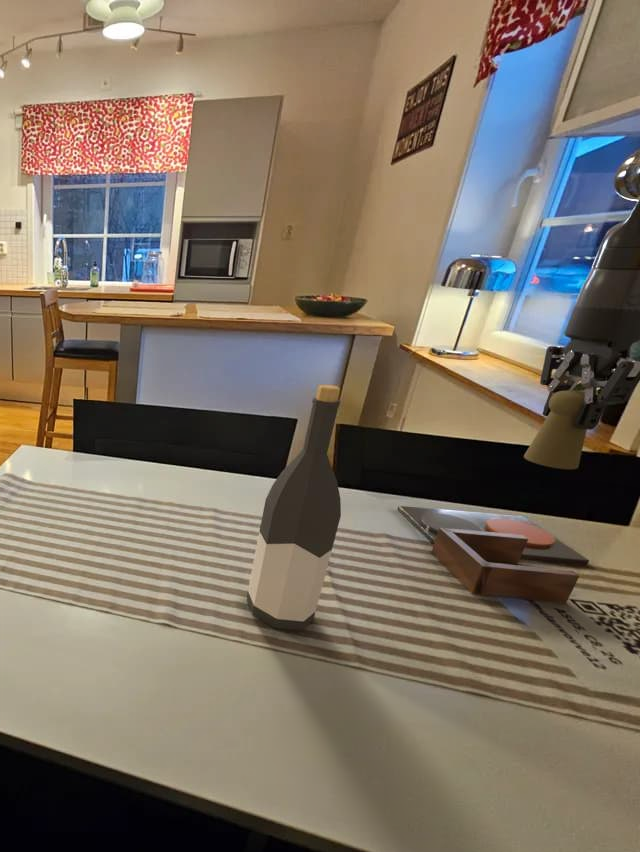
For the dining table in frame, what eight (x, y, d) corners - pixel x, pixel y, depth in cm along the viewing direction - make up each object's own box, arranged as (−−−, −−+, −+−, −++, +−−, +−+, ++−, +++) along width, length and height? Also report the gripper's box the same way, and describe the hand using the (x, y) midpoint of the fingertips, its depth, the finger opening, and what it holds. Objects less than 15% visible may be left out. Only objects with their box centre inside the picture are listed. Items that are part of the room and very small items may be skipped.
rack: (511, 560, 75) (522, 534, 74) (566, 603, 66) (579, 575, 64) (430, 552, 77) (439, 527, 76) (471, 593, 68) (482, 566, 66)
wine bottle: (314, 603, 66) (372, 383, 55) (311, 641, 59) (374, 400, 48) (250, 584, 69) (292, 375, 58) (240, 617, 63) (284, 389, 52)
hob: (521, 519, 87) (523, 513, 87) (587, 564, 74) (591, 557, 74) (397, 509, 90) (399, 503, 90) (439, 550, 78) (442, 543, 77)
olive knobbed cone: (540, 467, 73) (569, 396, 69) (514, 452, 79) (539, 386, 75) (589, 471, 72) (621, 398, 68) (559, 455, 78) (587, 388, 74)
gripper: (704, 309, 60) (641, 440, 66) (601, 300, 73) (557, 410, 79) (631, 308, 61) (577, 436, 67) (543, 300, 74) (504, 407, 80)
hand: (566, 421), depth 73 cm, fingers closed on olive knobbed cone, 5 cm apart
